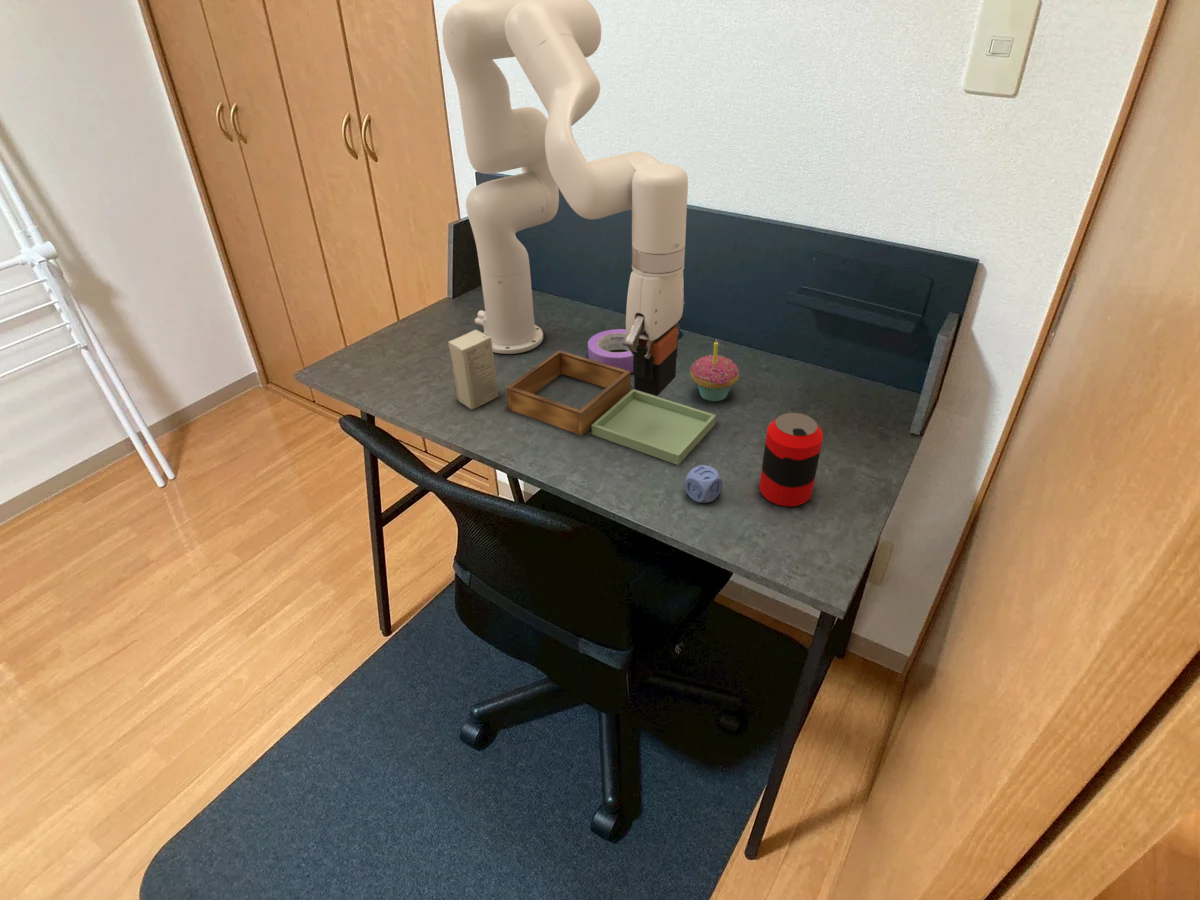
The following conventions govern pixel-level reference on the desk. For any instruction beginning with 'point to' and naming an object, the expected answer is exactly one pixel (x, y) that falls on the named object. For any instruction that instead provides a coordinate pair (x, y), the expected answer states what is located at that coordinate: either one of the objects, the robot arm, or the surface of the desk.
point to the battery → (660, 363)
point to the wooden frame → (560, 414)
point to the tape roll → (611, 349)
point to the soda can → (790, 459)
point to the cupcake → (714, 375)
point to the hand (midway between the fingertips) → (655, 366)
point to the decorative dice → (703, 484)
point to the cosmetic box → (474, 368)
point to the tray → (654, 426)
